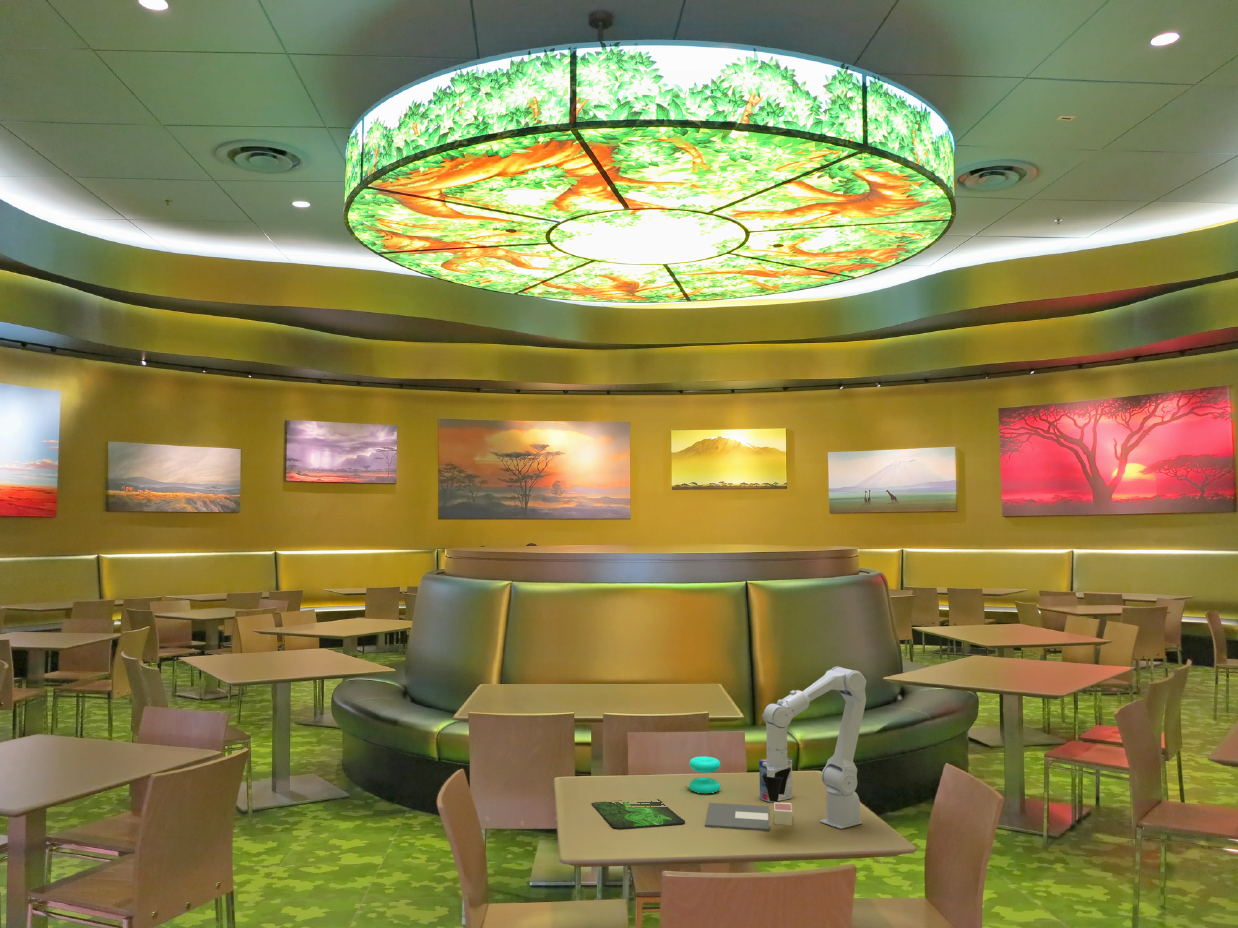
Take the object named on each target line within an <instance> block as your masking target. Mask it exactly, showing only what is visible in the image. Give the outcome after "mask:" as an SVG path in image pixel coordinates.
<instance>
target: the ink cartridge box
mask: <svg viewBox="0 0 1238 928" xmlns="http://www.w3.org/2000/svg"><path fill="white" fill-rule="evenodd" d="M763 762H767V758H764V759H759V760H758V765H759V766H758V767H759V769H758V770H759V799H760V800H762V801H765V802H767V803H774V801H770V800H769V796H768V791H767V787H766V784H765V782H764V780H763V778H762V775H763V774H767V768H766V766H763ZM787 764H788V767H789V768H791V771H790V773H789V776H788V779H787V782H786V788H785V792H784V795H781V794H779V798H778V801H777V802H780V801H783V800H784V801H785V800H789V799H793V759H792V758H788V757H787Z"/></svg>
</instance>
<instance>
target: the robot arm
mask: <svg viewBox="0 0 1238 928" xmlns="http://www.w3.org/2000/svg"><path fill="white" fill-rule="evenodd" d="M866 686H867V680H866V678H865V676H864V675H863V674H862V673H861V671H860V670H853V669H849V668H844V667H841V666H833V667H832V668H831V669H828V670H826V672H825V674H824V675H823V676H821V677H820V678H819V679H817V680H816V681H814V683H811V685H809V686H808V687H807V688H805V689H804V690H800V689H796V690H794V689H793V690H790V691H789V693H790V694H788V695H787V696H785V697H784V698H782V699H778V700H777V702H776V703H769V704H768V705H767V706H766V707H765V709H764V711H763V713H762V715H761V716H762V719H763V721H764V722H765V729H766V759H767V762H763V766H766V768H767V774H763V775H762V778H763V780H764V782H765V784H766V787H767V791H768V796H769V800H770V801H774V802H779V801H778V798H779V794H781V795H784V792H785V788H786V782H787V779H788V776H789V773H790V771H791V768H789V767H788V764H787V758H788V726H790V724H791V722H792V719H793V718H794V717H796V716H798V715H799V714H801V713H802V712H803V711H804V712H805V710H806V709H808V708H809V707H810V702H812V701H814V700H815V699H817V698H818V697H821V696H822V695H824V694H826V693H827V692H829V691H831V690H833V691H837V692H838V693H840V695H841V697H842V698H843V700H844V701H845V705H844V709H843V713H842V719H841V721H840V727H839V731H838V734H837V735H838V737H837V739H836V740H837V741H836V743H835V748H834V749H835V750H834V753H833V755H832V756H830V757H829V758H828V759H827V761H826V764H825V766H824V768H823V769H822V771H821V775H820V776H821V781H822V783H823V784H824V785H825V790H826V800H825V801H826V818H822V819H820V820H819V822H820V823H821V824H825V825H828V826H831V827H834V828H837V829H841V830H842V829H846V828H850V827H854V826H857V825H861V824H863V821H861V820H860V819H861V818H860V817H861V816H860V815H861V813H860V812H861V811H860V810H861V808H860V807H861V805H860V804H861V803H860V797H859V795H858V793H857V792H856V789H857V786H858V777H857V774H858V768H857V766H856V764H855V762H854V757H855V754H856V749H857V743H858V740H859V735H860V732H861V731H860V730H861V727H862V721H863V717H864V712H865V708H866V703H867V696H866V695H867V694H866ZM774 802H773V803H774Z"/></svg>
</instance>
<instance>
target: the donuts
mask: <svg viewBox="0 0 1238 928" xmlns="http://www.w3.org/2000/svg"><path fill="white" fill-rule="evenodd" d="M689 767H690V768H691V769H692V770H693V771H694V772H698V773H706V774H708V773H714V772H717V771H718V770H720V768H721V762H720V760H719V759H718V758H715V757H712V756H695V757H693V758H691V759H690V760H689ZM688 787H689V789H690V791H692V792H693V791H694V792H693V793H695V792H699V793H712V792H716V793H718V792H719V791H720V790H721V784H720V782H719V781H717V780H716V779H714V778H711V777H704V776H703V777H696V778H694V779H692V780H690V782H689V784H688ZM717 791H718V792H717ZM699 793H698V794H699Z"/></svg>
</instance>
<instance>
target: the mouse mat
mask: <svg viewBox="0 0 1238 928" xmlns="http://www.w3.org/2000/svg"><path fill="white" fill-rule="evenodd" d="M656 799H657V800H658V801H660V802H652V801H651V802H637V803H640V804H628V803H629V802H623V804H621V803H619V802H615V803H616V804H615V803H612V802H606V801H595V802H592V803H591V804H590V805H591V807H593V809H595V811H596V812H597V813H598V814H599V815H600V816H601V818H603V819H604V821H606V823H608V824H609V825H610V827H611V828H613V829H615V830H629V829H640V828H641V829H642V828H655V827H666V826H676V825H677V826H678V825H680V826H681V825H683V824H685V823H686V820H685V819H683V818H682V817H681V816H679V815H678V814H677V813H675V812H674V811H673V810H672V809H670V808H669V807H668V806H667V807H651V806H661V805H664V806H666V805H665V804H664V803H663V801H661V800H660V799H659V798H656ZM641 803H650V804H641ZM661 803H663V804H661ZM626 806H631V807H626ZM632 806H645V807H632ZM646 806H650V807H646Z"/></svg>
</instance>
